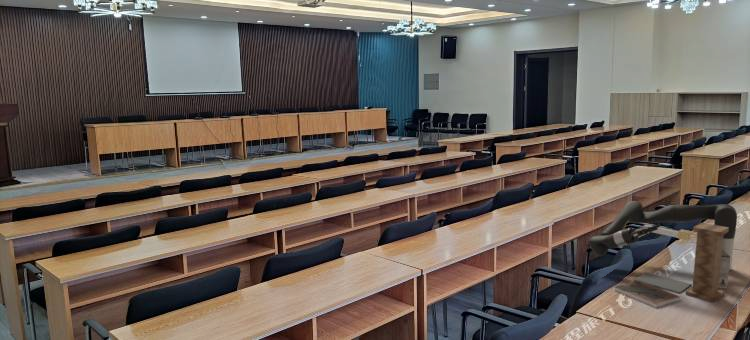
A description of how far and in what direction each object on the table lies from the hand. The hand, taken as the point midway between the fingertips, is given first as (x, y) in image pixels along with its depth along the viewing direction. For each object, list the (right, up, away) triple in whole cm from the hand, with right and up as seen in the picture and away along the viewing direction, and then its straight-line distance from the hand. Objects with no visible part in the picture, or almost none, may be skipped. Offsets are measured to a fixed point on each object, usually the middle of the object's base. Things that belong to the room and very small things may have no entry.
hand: (657, 226), depth 259 cm
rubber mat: (+3, -28, +2) cm, 28 cm away
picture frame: (-11, -31, -10) cm, 35 cm away
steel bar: (+3, -3, -2) cm, 5 cm away
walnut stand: (+15, -30, -12) cm, 35 cm away
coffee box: (+27, -28, -1) cm, 39 cm away
